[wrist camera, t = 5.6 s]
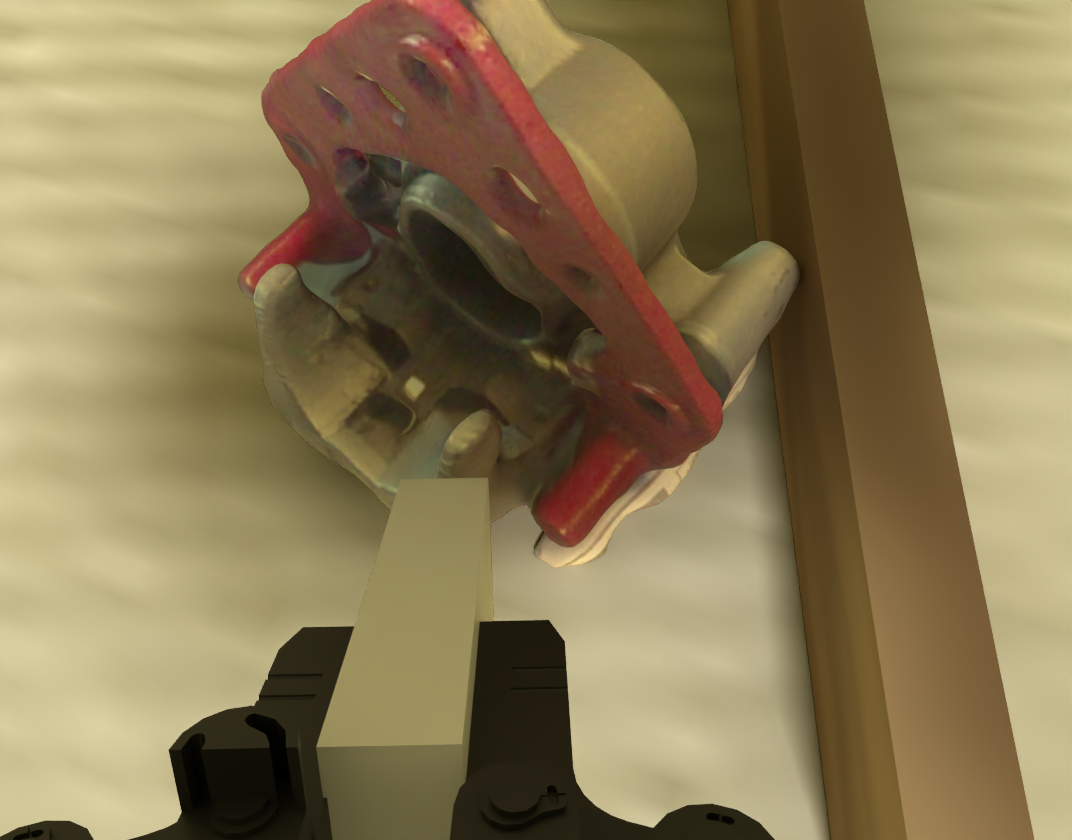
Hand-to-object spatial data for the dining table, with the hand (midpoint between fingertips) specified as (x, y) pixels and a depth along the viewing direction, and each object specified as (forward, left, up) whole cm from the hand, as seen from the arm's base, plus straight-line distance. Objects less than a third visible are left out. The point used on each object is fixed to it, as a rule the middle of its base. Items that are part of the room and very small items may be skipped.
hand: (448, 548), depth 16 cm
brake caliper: (-1, -6, -4) cm, 7 cm away
